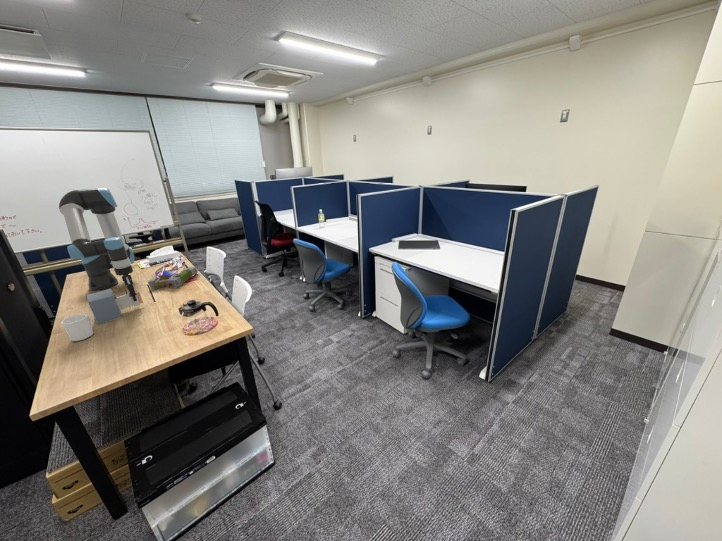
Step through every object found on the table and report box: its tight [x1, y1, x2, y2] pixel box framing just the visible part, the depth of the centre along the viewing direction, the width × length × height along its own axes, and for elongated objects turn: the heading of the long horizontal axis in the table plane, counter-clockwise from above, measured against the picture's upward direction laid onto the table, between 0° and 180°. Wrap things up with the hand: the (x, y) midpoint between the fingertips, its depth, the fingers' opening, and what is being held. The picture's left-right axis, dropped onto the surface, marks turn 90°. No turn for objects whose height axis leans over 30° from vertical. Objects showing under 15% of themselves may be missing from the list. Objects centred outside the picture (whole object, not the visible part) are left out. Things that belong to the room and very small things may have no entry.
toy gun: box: [147, 266, 200, 291], centre depth 196 cm, size 7×27×20 cm
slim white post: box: [115, 291, 144, 311], centre depth 159 cm, size 1×18×7 cm, turn 133°
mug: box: [60, 313, 94, 343], centre depth 138 cm, size 11×9×10 cm
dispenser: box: [87, 288, 122, 325], centre depth 154 cm, size 12×11×13 cm
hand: (136, 304), depth 164 cm, fingers closed on slim white post
